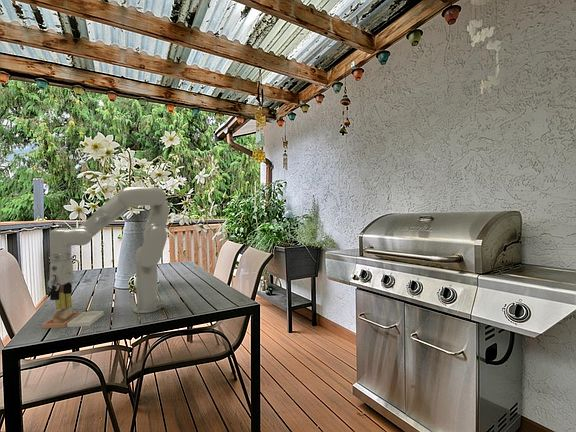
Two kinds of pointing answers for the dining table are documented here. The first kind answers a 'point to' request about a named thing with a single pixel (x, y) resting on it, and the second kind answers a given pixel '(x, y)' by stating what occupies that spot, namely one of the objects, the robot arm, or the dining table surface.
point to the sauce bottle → (63, 299)
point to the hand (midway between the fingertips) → (61, 296)
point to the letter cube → (62, 315)
